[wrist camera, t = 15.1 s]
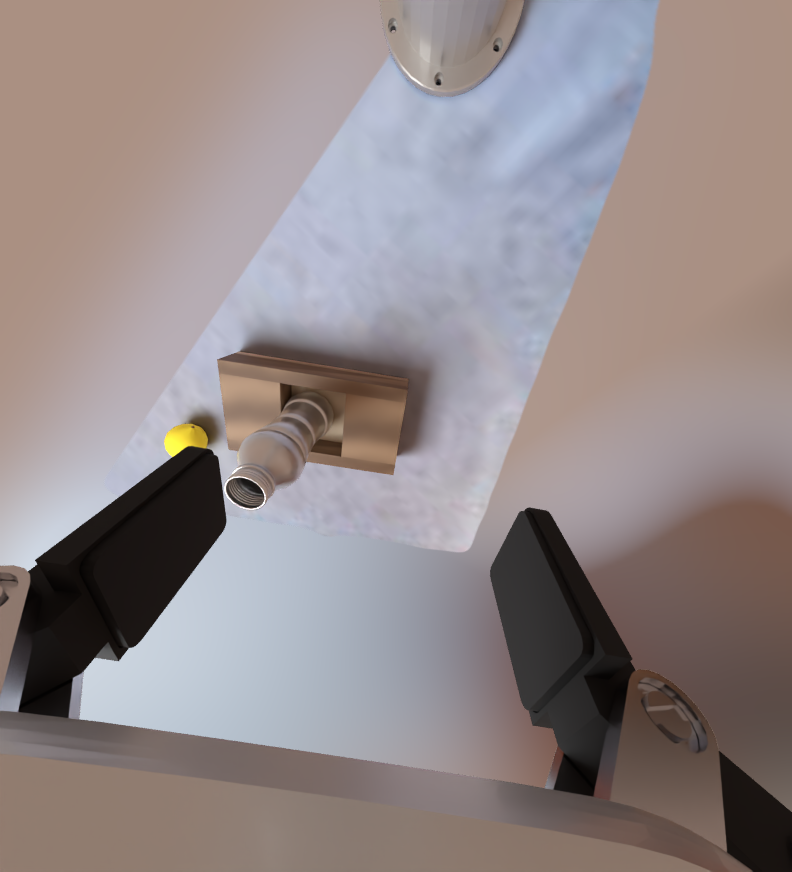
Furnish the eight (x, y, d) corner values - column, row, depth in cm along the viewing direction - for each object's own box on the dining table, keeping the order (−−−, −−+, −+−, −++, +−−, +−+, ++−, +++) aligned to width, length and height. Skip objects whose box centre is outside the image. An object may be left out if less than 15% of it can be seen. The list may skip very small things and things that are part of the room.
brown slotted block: (239, 351, 41) (217, 359, 37) (408, 378, 42) (408, 390, 37) (246, 433, 47) (228, 449, 43) (395, 456, 48) (393, 475, 43)
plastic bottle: (317, 437, 45) (254, 533, 28) (283, 405, 43) (191, 487, 26) (346, 412, 43) (299, 499, 25) (312, 377, 41) (234, 446, 23)
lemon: (207, 454, 50) (184, 474, 46) (177, 435, 49) (150, 454, 44) (221, 428, 47) (197, 448, 42) (189, 407, 45) (161, 425, 41)
